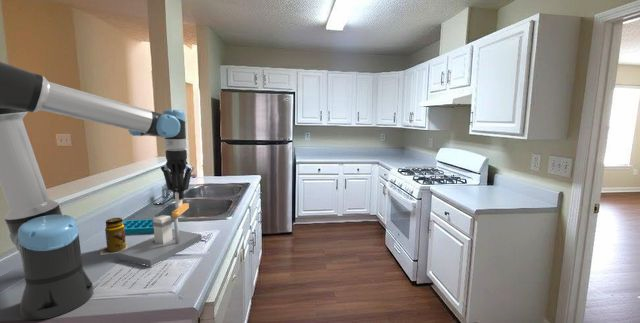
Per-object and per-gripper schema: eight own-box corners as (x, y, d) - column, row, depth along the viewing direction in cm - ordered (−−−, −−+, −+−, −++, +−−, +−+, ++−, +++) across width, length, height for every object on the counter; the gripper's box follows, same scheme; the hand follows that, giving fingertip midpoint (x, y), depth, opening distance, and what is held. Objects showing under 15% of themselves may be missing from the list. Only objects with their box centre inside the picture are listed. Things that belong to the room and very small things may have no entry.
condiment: (127, 250, 113) (124, 220, 112) (100, 256, 109) (96, 224, 107) (127, 243, 119) (124, 215, 118) (101, 248, 115) (97, 219, 113)
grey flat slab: (151, 267, 101) (150, 260, 100) (118, 259, 106) (117, 252, 106) (201, 240, 123) (201, 234, 123) (172, 234, 129) (171, 229, 128)
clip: (172, 243, 113) (170, 212, 111) (185, 231, 125) (183, 203, 123) (179, 243, 113) (177, 212, 111) (190, 231, 125) (189, 203, 123)
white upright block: (163, 249, 114) (161, 219, 112) (154, 247, 116) (152, 218, 114) (173, 244, 118) (171, 216, 117) (164, 242, 120) (162, 214, 118)
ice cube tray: (125, 226, 138) (124, 220, 138) (171, 224, 142) (171, 218, 141) (112, 236, 127) (111, 229, 127) (162, 233, 130) (162, 227, 130)
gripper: (154, 149, 114) (158, 208, 118) (185, 151, 112) (188, 211, 116) (167, 147, 121) (170, 203, 125) (196, 149, 119) (198, 205, 123)
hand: (179, 207), depth 120 cm, fingers closed
